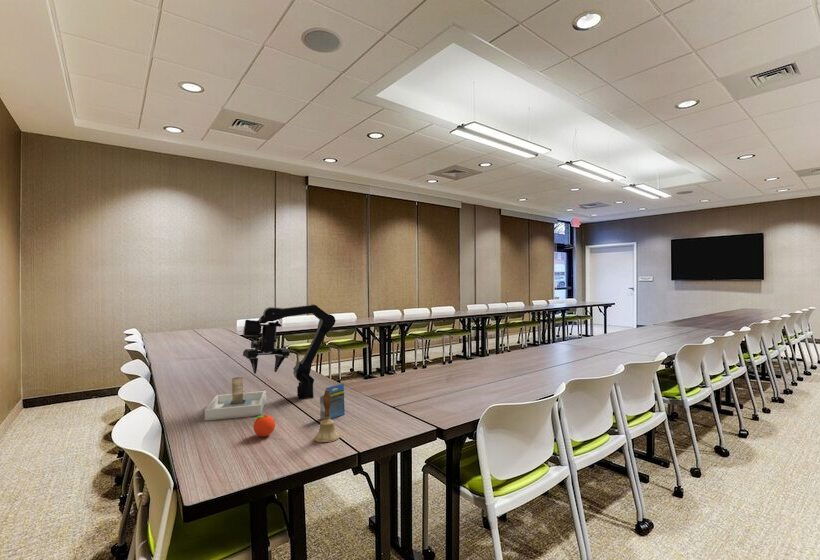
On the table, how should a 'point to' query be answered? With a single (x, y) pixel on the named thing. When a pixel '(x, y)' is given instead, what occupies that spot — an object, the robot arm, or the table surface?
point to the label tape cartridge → (334, 402)
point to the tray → (237, 410)
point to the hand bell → (327, 423)
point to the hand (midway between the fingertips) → (265, 372)
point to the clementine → (264, 425)
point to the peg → (237, 390)
